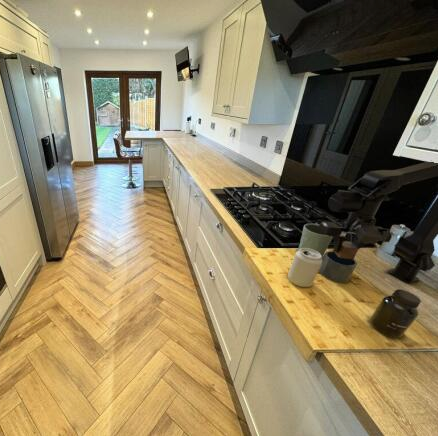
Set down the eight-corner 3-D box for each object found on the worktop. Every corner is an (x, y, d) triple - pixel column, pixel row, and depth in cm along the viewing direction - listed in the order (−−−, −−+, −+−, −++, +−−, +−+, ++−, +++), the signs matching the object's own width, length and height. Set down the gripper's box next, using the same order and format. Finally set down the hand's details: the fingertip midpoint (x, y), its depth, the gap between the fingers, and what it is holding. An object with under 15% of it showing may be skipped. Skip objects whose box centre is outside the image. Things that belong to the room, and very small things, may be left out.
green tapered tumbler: (329, 262, 92) (341, 236, 87) (303, 261, 92) (314, 235, 87) (313, 248, 102) (323, 223, 96) (290, 247, 102) (299, 222, 96)
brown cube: (345, 252, 84) (350, 241, 82) (353, 259, 80) (358, 248, 78) (332, 250, 84) (337, 240, 83) (339, 257, 81) (344, 247, 79)
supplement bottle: (390, 341, 61) (415, 308, 56) (362, 320, 67) (382, 288, 62) (408, 336, 63) (433, 303, 58) (379, 315, 69) (400, 284, 64)
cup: (329, 264, 91) (336, 249, 88) (354, 279, 84) (363, 263, 81) (312, 268, 88) (319, 253, 85) (337, 284, 81) (345, 268, 78)
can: (289, 271, 86) (299, 243, 81) (313, 280, 82) (325, 252, 77) (284, 281, 81) (295, 252, 76) (309, 292, 77) (323, 262, 72)
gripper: (345, 219, 69) (326, 262, 76) (418, 226, 67) (391, 270, 73) (326, 205, 79) (310, 244, 86) (388, 211, 76) (367, 251, 83)
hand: (343, 252), depth 82 cm, fingers closed on brown cube, 4 cm apart
